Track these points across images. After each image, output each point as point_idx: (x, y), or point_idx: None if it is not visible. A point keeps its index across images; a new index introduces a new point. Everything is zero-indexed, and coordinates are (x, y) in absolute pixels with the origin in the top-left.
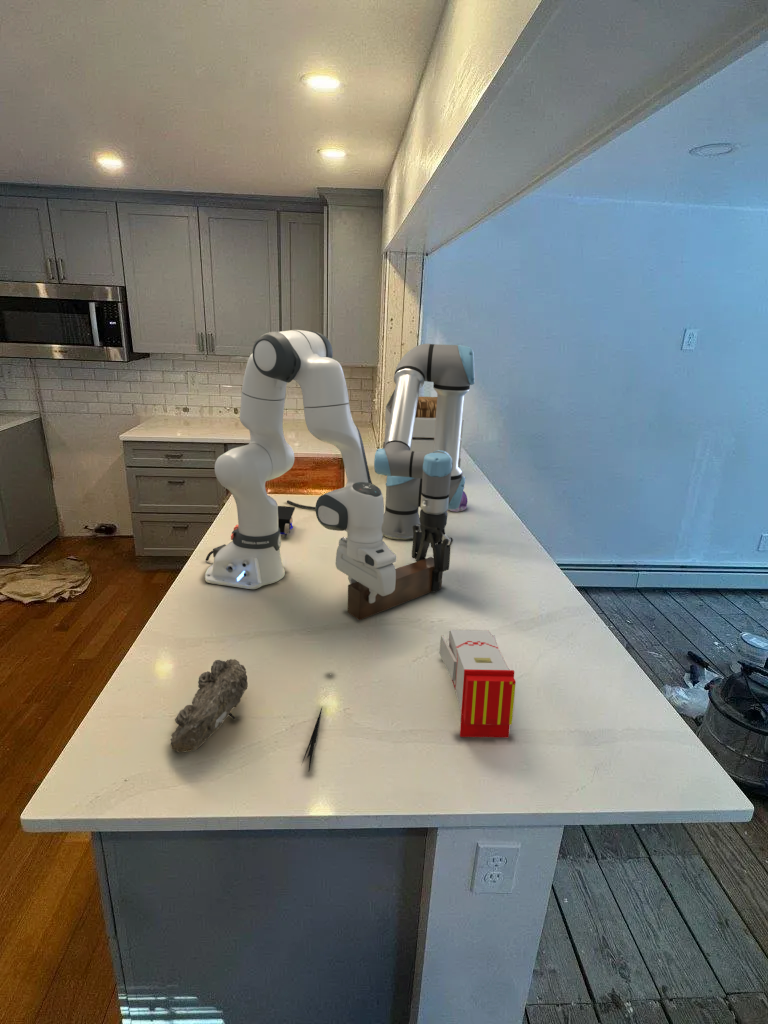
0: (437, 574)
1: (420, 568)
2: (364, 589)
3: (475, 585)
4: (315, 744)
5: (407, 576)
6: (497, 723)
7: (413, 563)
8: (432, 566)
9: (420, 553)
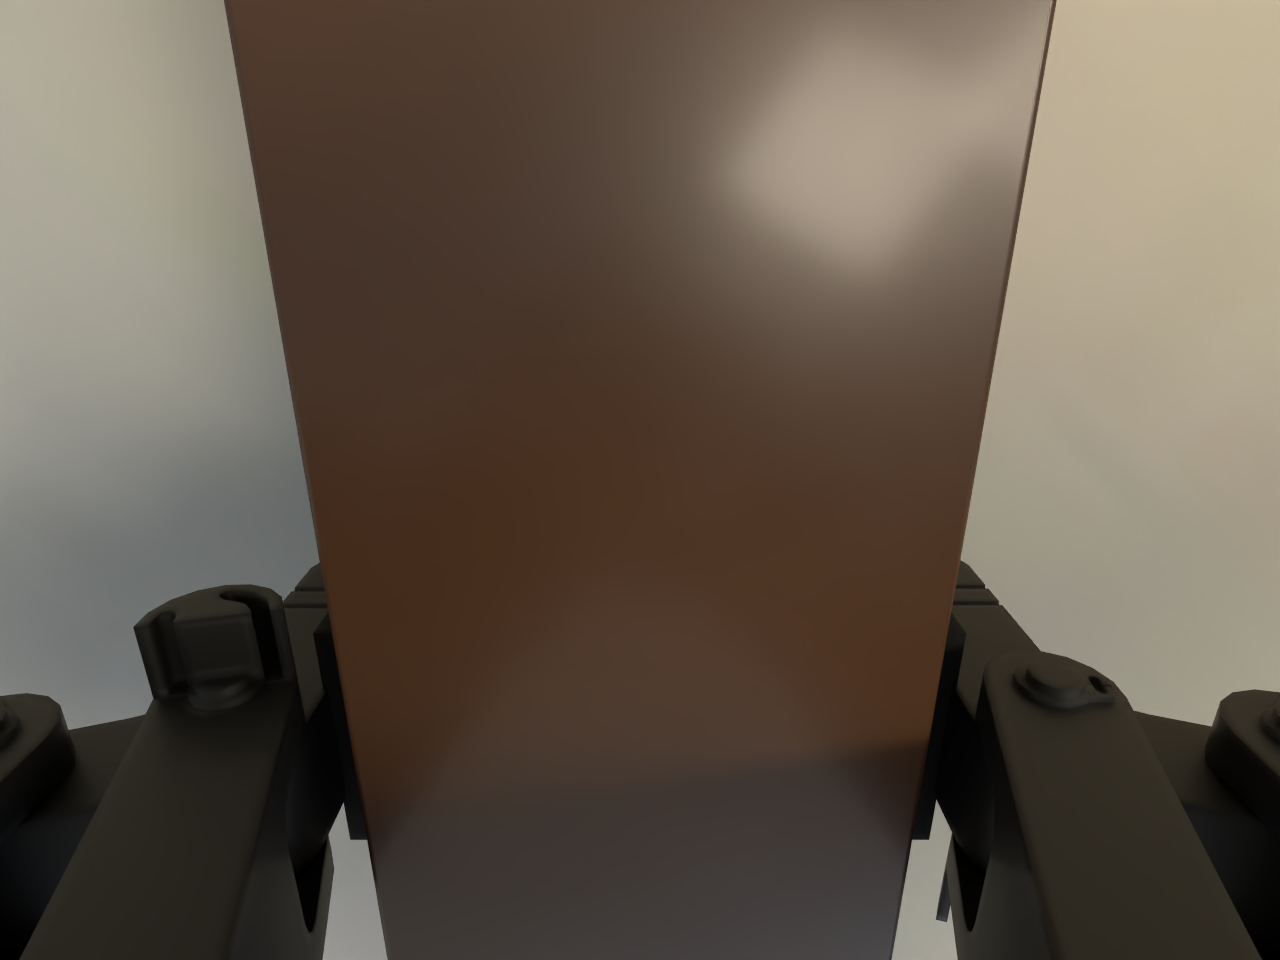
0: (293, 640)
1: (424, 255)
2: None
3: (347, 956)
4: None
5: None
6: None
7: (939, 356)
8: (352, 708)
9: (1092, 945)
